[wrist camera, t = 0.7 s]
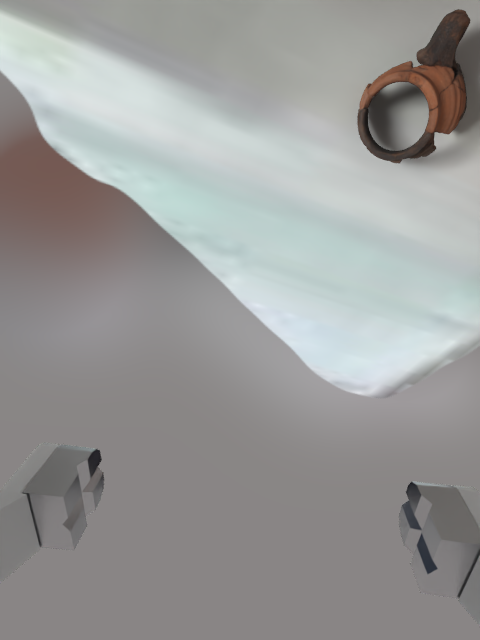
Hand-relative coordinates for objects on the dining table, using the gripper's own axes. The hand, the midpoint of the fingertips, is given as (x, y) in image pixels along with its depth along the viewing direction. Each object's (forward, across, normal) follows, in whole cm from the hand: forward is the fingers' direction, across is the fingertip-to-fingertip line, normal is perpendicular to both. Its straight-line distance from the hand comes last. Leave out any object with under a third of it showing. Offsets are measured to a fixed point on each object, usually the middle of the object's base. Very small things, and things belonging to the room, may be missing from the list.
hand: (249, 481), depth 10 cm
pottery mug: (+37, -13, -15) cm, 42 cm away
